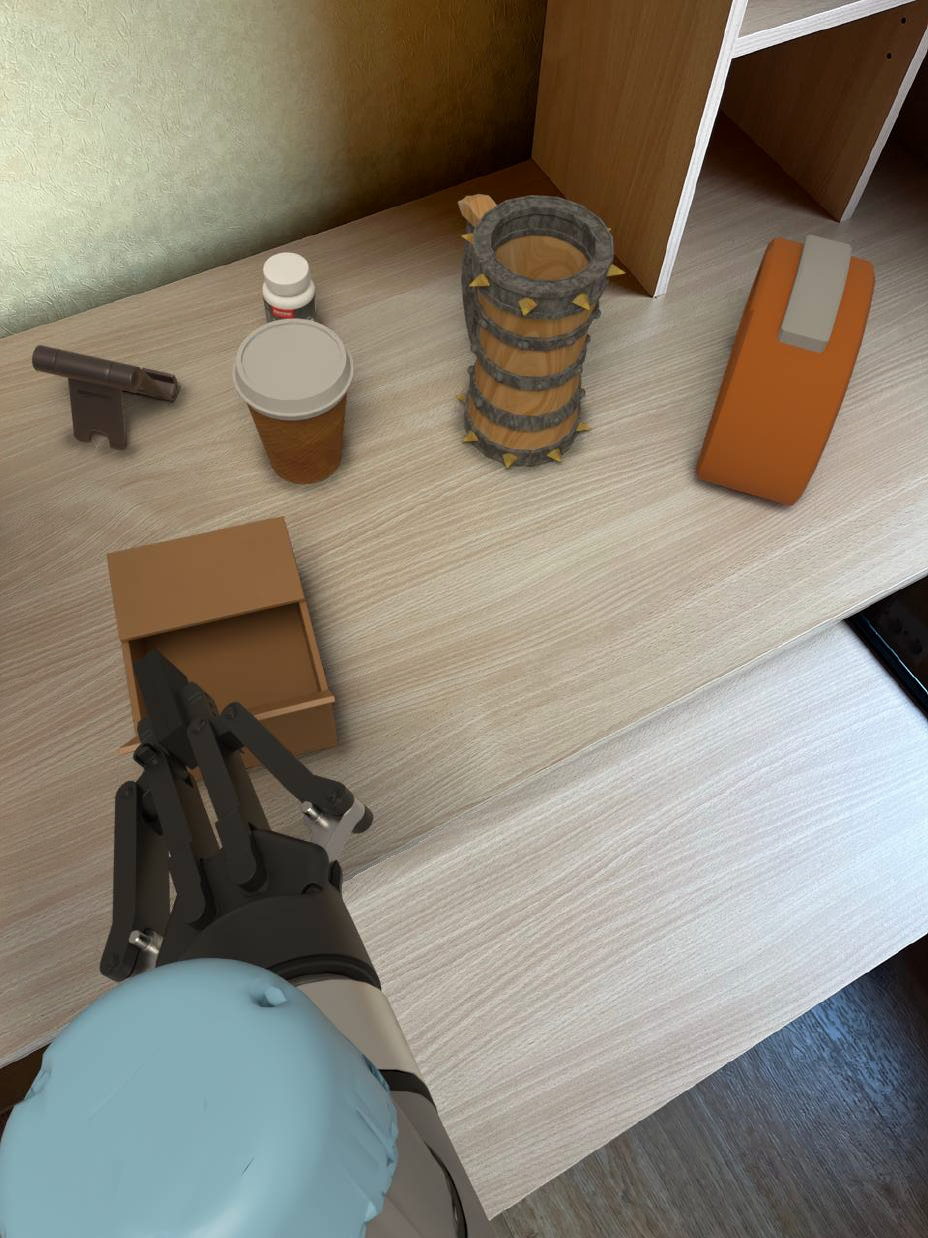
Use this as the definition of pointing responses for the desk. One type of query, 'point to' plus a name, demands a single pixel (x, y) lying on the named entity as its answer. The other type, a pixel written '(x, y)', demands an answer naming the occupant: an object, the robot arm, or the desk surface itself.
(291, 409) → the disposable coffee cup
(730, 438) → the alarm clock
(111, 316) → the desk surface
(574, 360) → the mug
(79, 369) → the tablet stand
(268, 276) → the pill bottle
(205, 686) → the carton
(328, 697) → the flap
